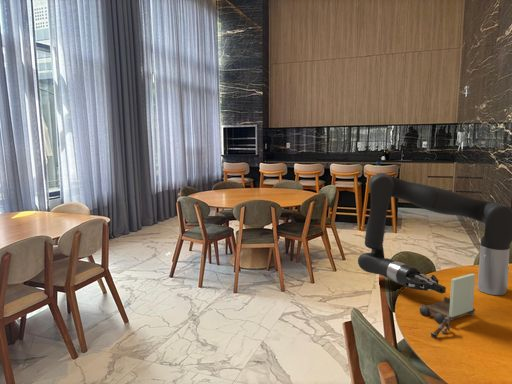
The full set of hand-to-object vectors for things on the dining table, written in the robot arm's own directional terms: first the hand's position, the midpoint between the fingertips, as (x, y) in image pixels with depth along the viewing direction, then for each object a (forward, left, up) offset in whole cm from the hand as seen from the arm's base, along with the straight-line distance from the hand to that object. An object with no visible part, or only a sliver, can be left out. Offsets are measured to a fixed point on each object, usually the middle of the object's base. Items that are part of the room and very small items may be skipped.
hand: (444, 290), depth 125 cm
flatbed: (0, +1, -8) cm, 8 cm away
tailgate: (0, +6, -6) cm, 8 cm away
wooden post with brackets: (+12, +8, -8) cm, 17 cm away
